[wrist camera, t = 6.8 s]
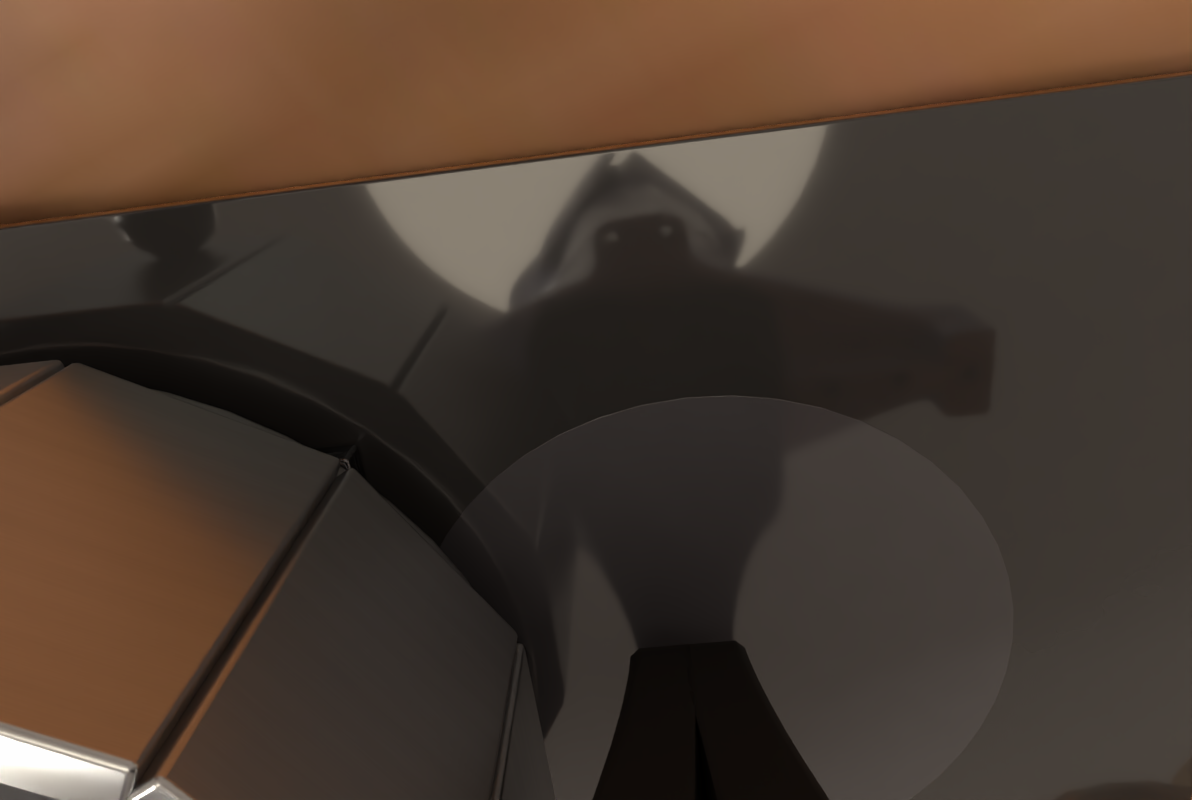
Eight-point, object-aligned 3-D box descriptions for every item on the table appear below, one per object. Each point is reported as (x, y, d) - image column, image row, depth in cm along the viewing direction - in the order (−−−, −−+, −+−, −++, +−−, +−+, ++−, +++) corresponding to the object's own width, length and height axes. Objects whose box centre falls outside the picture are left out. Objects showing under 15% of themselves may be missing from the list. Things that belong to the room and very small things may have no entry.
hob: (1356, 49, 7) (1384, 48, 7) (1142, 930, 13) (1154, 951, 12) (-621, 305, 9) (-662, 313, 9) (-79, 997, 14) (-93, 1017, 14)
